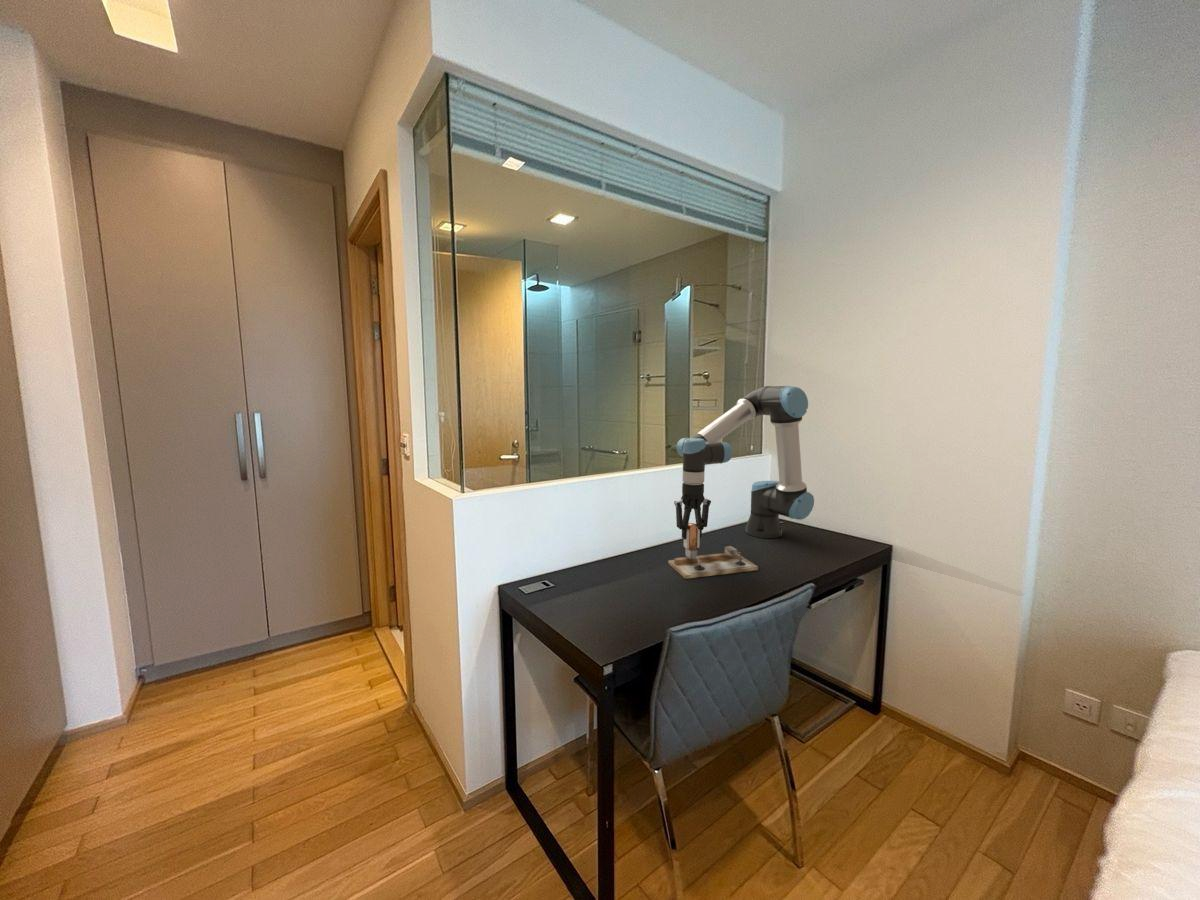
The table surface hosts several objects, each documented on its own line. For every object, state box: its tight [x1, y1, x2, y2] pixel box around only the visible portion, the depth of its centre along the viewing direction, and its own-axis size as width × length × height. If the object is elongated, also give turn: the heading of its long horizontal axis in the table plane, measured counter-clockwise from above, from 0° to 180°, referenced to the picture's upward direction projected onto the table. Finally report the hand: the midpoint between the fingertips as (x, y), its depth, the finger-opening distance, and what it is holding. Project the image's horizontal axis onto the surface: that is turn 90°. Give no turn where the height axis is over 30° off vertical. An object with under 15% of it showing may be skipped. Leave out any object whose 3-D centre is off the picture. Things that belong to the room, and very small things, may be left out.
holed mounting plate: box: [667, 545, 759, 580], centre depth 170 cm, size 28×14×5 cm, turn 106°
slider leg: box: [684, 522, 701, 568], centre depth 168 cm, size 3×9×13 cm, turn 16°
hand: (691, 546), depth 170 cm, fingers closed on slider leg, 3 cm apart
